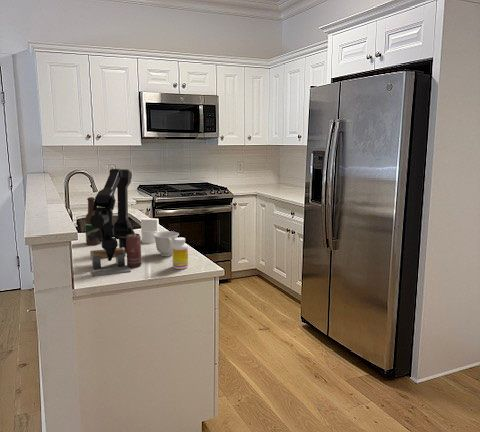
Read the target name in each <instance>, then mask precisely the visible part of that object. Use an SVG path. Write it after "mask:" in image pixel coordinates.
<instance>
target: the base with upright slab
mask: <svg viewBox="0 0 480 432" xmlns="http://www.w3.org/2000/svg"><path fill="white" fill-rule="evenodd" d="M159 224H160V223H159V218H153V217H152V218H150V217H147V218H146V217H141V218H140V229H141V232H140V233H141V243H142V244H147V245H148V244H151V245H152V244H156V242H155V237H154V236H153V234H155V233H157V232H160V226H159Z"/></svg>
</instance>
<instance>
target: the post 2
mask: <svg viewBox="0 0 480 432" xmlns="http://www.w3.org/2000/svg"><path fill="white" fill-rule="evenodd" d="M125 256H126V254H125V255H124V254H118V255H117V257H116V258H115V264H116V267H124V266H126V259H125Z"/></svg>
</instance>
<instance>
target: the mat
mask: <svg viewBox="0 0 480 432" xmlns="http://www.w3.org/2000/svg"><path fill="white" fill-rule="evenodd" d="M124 273H131V268H130V267H128V266H127V265H125V266H124V267H118V266H115V267H108V268H101V269H99V270H94V269H92V270H91V274H92V278H93V277H100V276H109V275H117V274H118V275H119V274H124Z"/></svg>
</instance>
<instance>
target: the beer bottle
mask: <svg viewBox="0 0 480 432" xmlns="http://www.w3.org/2000/svg"><path fill="white" fill-rule="evenodd" d="M94 200H95V197H93V196H91V197H90V196H89V197H87V213H86V216H85V219H84V230H85V234H86V233H87V232H90V231H92V230H94V229H97V228H94V227H93V226H92V225H91V223H90V219H91V217H92V216H93V215H95V214H94V212H95V211H93V205H94ZM85 242H86V243H85V244H86V245H87V246H98V245H101V242H100V241H99V239H98V238H97V239H95V240H93V241H92V242H89V240H88V238H87V236H86V235H85Z"/></svg>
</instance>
